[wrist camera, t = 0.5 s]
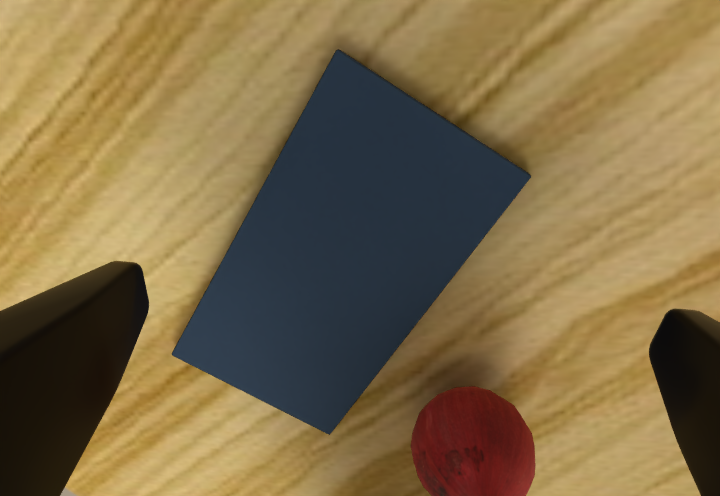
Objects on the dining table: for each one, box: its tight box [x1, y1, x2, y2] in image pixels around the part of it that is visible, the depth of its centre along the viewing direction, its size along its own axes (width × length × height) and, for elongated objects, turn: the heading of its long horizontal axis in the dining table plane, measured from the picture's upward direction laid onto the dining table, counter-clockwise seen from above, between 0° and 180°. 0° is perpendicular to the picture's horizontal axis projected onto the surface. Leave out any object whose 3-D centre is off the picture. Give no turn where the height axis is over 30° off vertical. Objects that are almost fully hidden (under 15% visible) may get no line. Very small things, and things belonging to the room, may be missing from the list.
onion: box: [411, 386, 535, 496], centre depth 23 cm, size 6×6×8 cm
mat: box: [172, 49, 531, 435], centre depth 24 cm, size 18×10×1 cm, turn 149°
